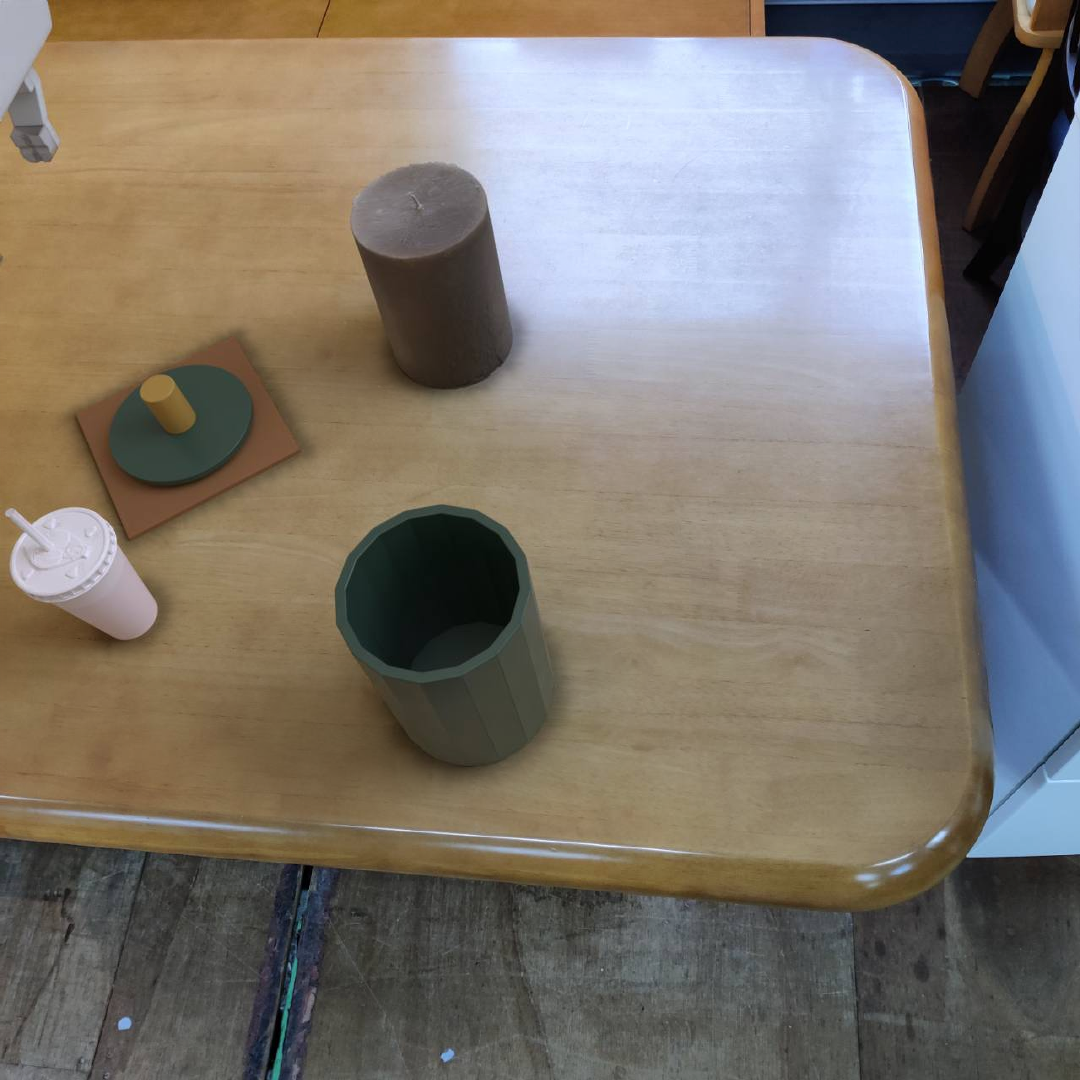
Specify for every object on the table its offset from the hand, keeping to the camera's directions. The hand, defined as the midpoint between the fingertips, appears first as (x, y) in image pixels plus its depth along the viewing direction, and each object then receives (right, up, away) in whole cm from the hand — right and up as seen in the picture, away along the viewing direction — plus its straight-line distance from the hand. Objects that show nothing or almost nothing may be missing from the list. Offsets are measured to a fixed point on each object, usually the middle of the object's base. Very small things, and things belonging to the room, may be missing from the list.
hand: (17, 210), depth 52 cm
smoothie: (0, -24, +15) cm, 28 cm away
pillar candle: (+22, -2, +25) cm, 33 cm away
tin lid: (+1, -9, +21) cm, 23 cm away
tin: (+25, -28, +9) cm, 38 cm away
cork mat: (+1, -10, +22) cm, 24 cm away
